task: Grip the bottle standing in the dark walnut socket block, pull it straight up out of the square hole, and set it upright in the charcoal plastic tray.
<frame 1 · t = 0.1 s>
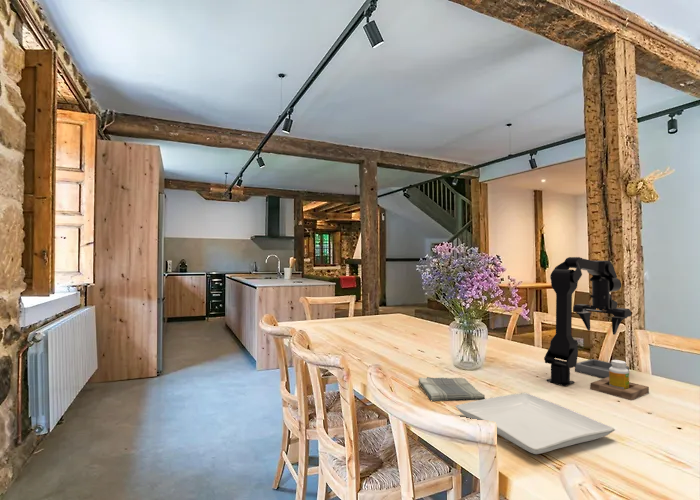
hand: (601, 332, 150), 15 cm above the table, tool pointing down, fingers open, 9 cm apart
supplement bottle: (619, 391, 127), resting in socket block
socket block: (619, 390, 127), on the table
tray: (601, 373, 146), on the table
square plate: (529, 429, 100), on the table
dish towel: (449, 392, 128), on the table
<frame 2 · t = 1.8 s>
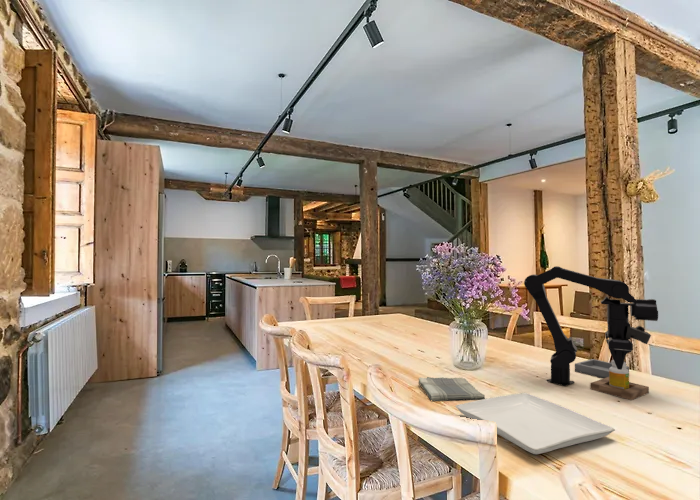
hand: (618, 365, 127), 8 cm above the table, tool pointing down, fingers open, 9 cm apart
nothing on the table moved.
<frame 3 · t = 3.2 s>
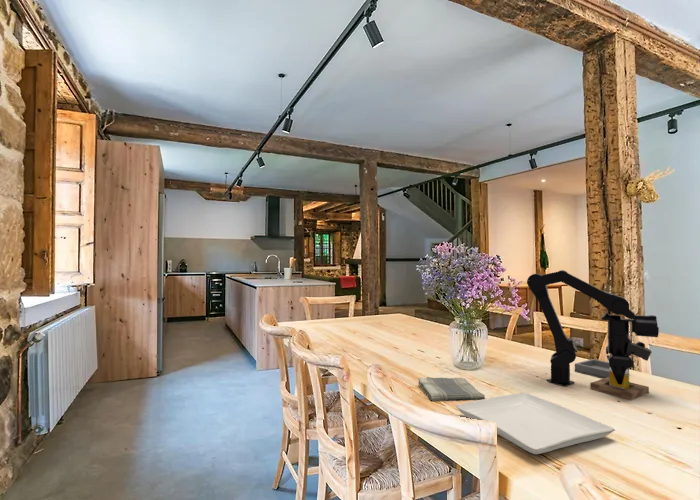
hand: (619, 381, 127), 3 cm above the table, tool pointing down, fingers closed on supplement bottle, 5 cm apart
supplement bottle: (619, 391, 127), resting in socket block, touching gripper
everything else where it was.
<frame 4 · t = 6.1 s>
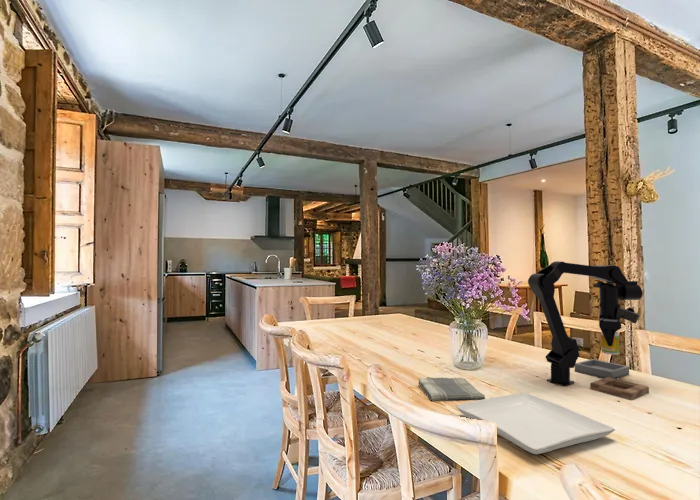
hand: (610, 344, 137), 13 cm above the table, tool pointing down, fingers closed on supplement bottle, 5 cm apart
supplement bottle: (610, 353, 137), point 10 cm above the table, touching gripper
everything else where it was.
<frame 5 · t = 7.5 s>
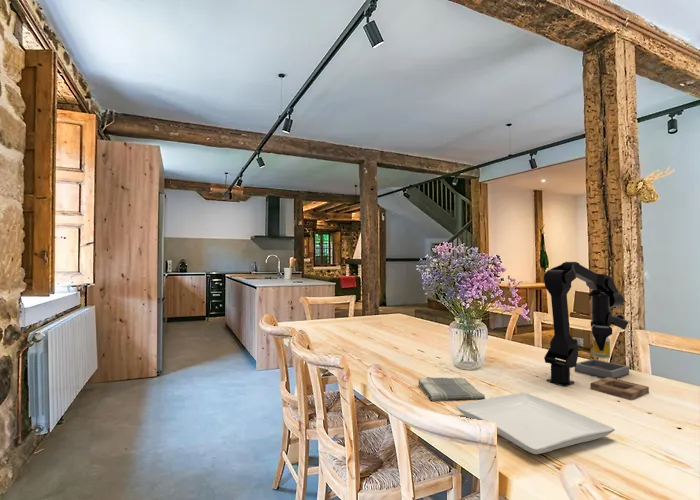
hand: (601, 349, 146), 9 cm above the table, tool pointing down, fingers closed on supplement bottle, 5 cm apart
supplement bottle: (601, 357, 146), point 6 cm above the table, touching gripper
everything else where it was.
when the fingers open (6 cm above the table, at t = 8.9 s): supplement bottle drops 2 cm, resting on tray.
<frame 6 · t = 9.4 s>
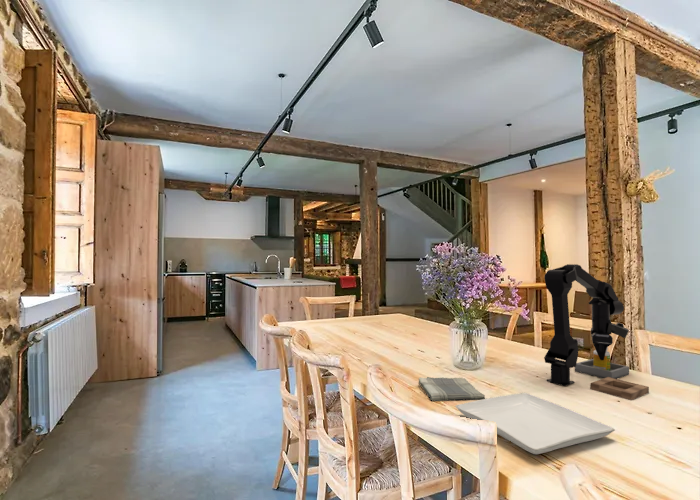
hand: (601, 357, 146), 6 cm above the table, tool pointing down, fingers open, 9 cm apart
supplement bottle: (601, 371, 146), point 1 cm above the table, touching tray
everything else where it was.
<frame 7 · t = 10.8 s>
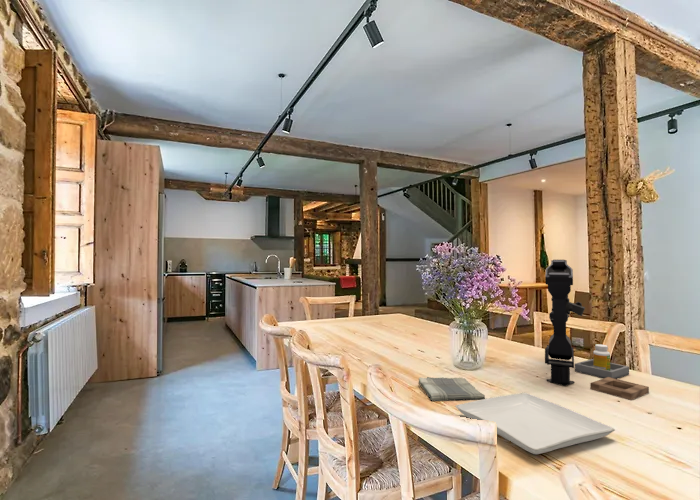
hand: (560, 334, 155), 13 cm above the table, tool pointing down, fingers open, 9 cm apart
nothing on the table moved.
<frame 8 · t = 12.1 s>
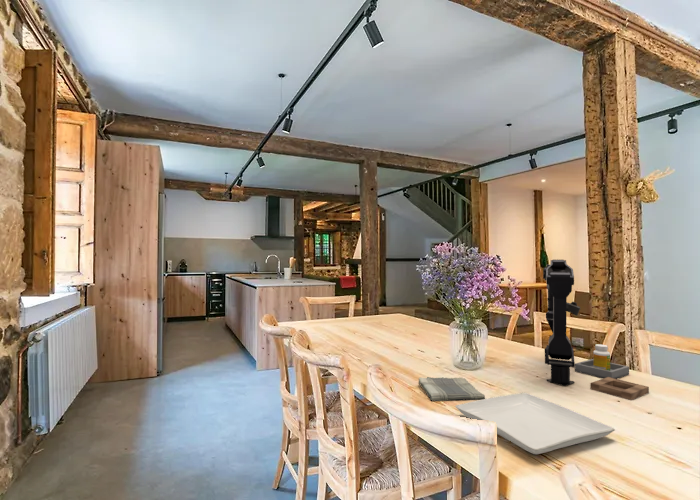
hand: (556, 334, 155), 13 cm above the table, tool pointing down, fingers open, 9 cm apart
nothing on the table moved.
at the end: supplement bottle inside the target area on the tray (0.1 cm from its centre), point 0.6 cm above the tray's base; supplement bottle tilted 0°; the gripper is holding nothing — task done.
